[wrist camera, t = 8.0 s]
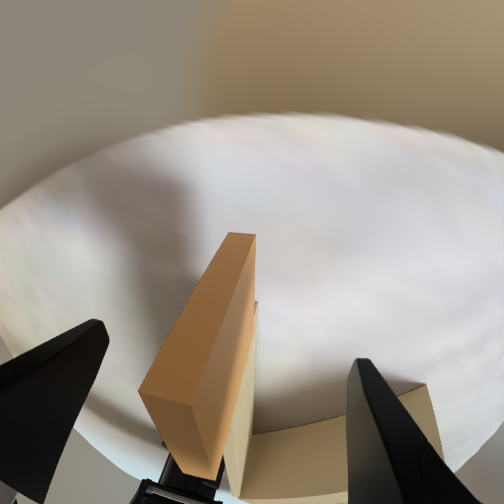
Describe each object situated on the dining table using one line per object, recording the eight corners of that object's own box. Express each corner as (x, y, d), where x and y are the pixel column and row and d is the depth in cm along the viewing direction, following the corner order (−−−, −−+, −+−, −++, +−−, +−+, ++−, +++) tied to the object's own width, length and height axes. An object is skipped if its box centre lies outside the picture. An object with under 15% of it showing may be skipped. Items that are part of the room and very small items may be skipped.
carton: (300, 466, 26) (294, 518, 19) (252, 434, 23) (238, 499, 16) (437, 428, 20) (448, 486, 13) (426, 384, 17) (444, 464, 10)
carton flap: (254, 436, 22) (234, 528, 14) (243, 434, 22) (222, 525, 14) (265, 210, 13) (191, 405, 4) (242, 209, 13) (137, 390, 4)
